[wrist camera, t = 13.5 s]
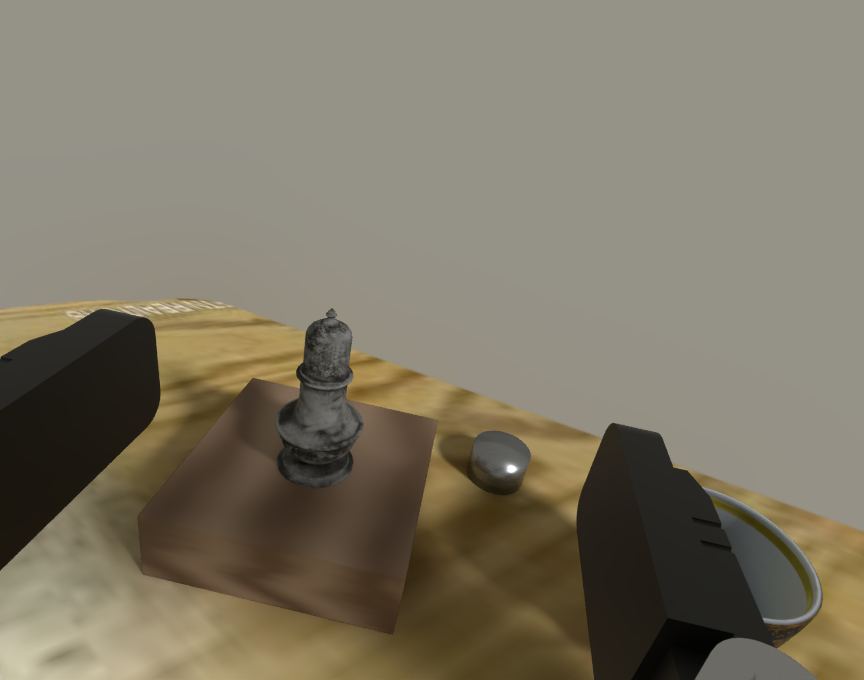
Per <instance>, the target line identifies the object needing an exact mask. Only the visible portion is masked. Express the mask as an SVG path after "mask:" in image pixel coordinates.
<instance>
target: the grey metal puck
mask: <svg viewBox="0 0 864 680" xmlns="http://www.w3.org/2000/svg"><path fill="white" fill-rule="evenodd" d="M530 458H531V454H530V451H529V449H528V447H527V446H526V445H525V444H524V443H523V442H522V441H521V440H520V439H518V438H517V437H515V436H513V435H511V434H508V433H505V432H500V431H486V432H483V433H481V434H479V435H478V436H477V437H476V438H475V441H474V444H473V448H472V451H471V455H470V459H469V462H468V466H467V473H468V476H469V478H470V479H471V481H472V482H473V483H474V484H475V485H476V486H478V487H479V488H481V489H482V490H484V491H487V492H489V493H493V494H497V495H508V494H512V493H514V492H516V491H517V490H519V488H520V487H521V485H522V482H523V479H524V476H525V473H526V470H527V467H528V464H529V461H530Z"/></svg>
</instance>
